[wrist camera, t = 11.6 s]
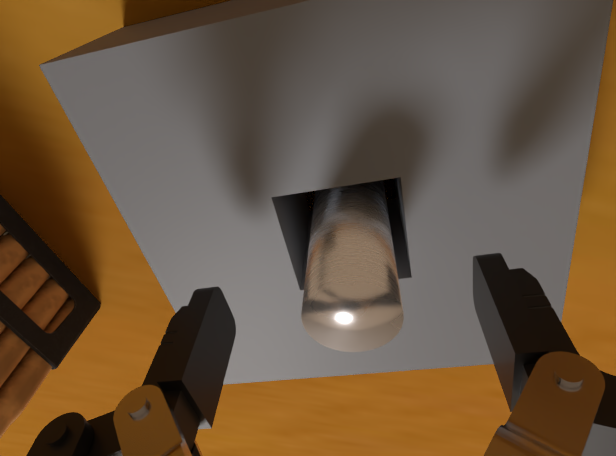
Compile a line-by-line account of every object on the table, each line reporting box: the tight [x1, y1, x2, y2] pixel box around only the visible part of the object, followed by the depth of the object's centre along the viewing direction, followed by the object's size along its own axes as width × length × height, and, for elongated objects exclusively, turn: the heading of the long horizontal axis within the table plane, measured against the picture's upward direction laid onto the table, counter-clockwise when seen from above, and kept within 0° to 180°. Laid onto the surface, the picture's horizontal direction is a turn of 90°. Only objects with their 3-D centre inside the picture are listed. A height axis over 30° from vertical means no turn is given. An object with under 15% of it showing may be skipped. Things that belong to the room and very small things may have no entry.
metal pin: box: [301, 180, 404, 352], centre depth 17 cm, size 3×3×10 cm
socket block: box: [39, 0, 613, 384], centre depth 18 cm, size 16×16×6 cm
